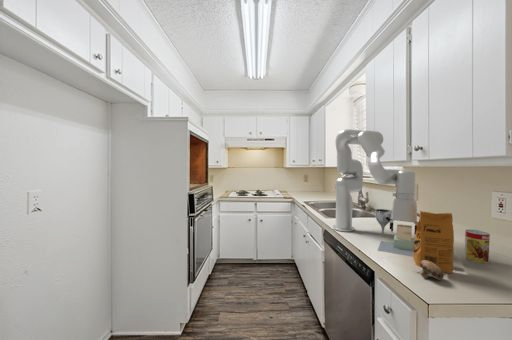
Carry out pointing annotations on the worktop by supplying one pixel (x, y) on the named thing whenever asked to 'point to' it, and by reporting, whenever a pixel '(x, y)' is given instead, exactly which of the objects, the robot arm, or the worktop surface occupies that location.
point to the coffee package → (435, 240)
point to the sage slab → (403, 243)
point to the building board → (393, 249)
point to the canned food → (477, 246)
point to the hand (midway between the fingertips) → (403, 232)
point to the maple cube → (404, 232)
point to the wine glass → (382, 218)
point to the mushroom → (430, 270)
